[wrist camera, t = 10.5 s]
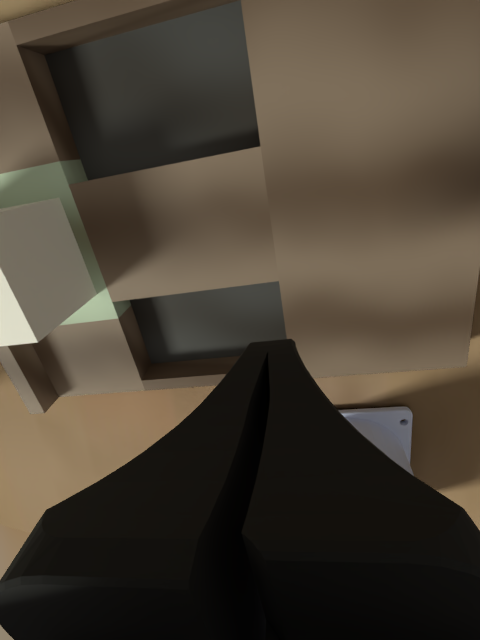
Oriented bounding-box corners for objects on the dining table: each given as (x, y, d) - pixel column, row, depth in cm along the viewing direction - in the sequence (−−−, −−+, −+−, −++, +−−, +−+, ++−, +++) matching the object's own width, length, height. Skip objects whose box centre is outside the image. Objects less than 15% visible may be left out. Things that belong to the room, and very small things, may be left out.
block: (96, 294, 18) (37, 342, 14) (16, 304, 19) (-63, 353, 15) (59, 197, 16) (-25, 218, 12) (-30, 214, 17) (-138, 239, 13)
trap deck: (450, 346, 20) (480, 384, 17) (62, 379, 24) (30, 413, 21) (497, -99, 12) (572, -183, 9) (-89, 73, 16) (-176, 57, 13)
